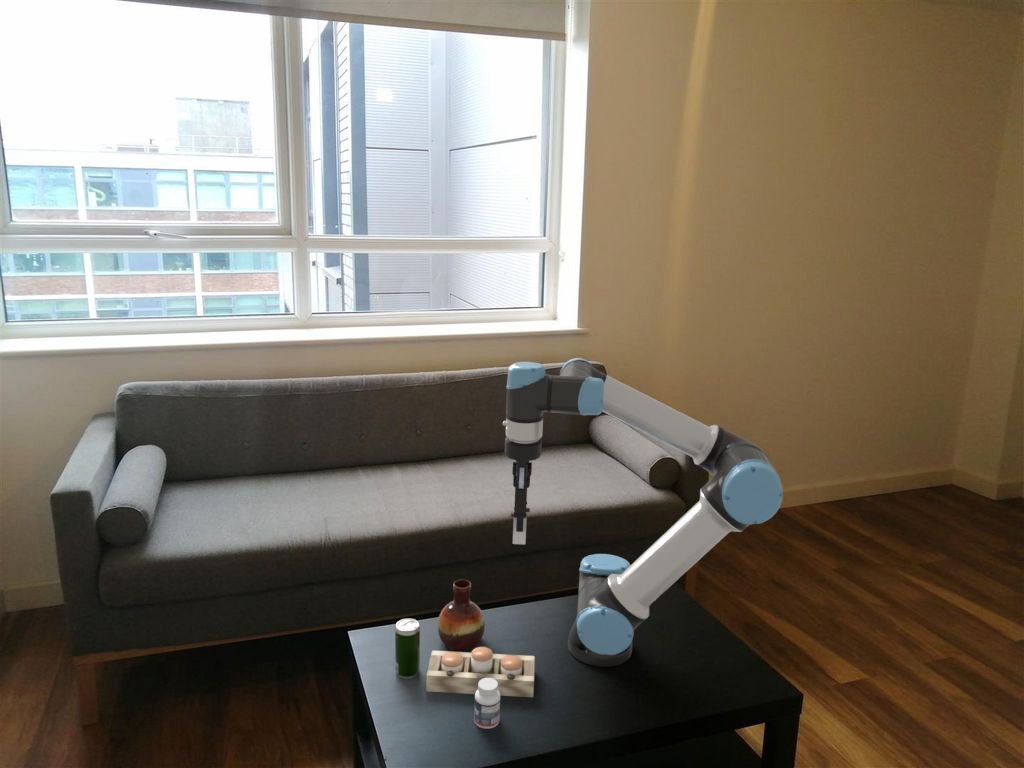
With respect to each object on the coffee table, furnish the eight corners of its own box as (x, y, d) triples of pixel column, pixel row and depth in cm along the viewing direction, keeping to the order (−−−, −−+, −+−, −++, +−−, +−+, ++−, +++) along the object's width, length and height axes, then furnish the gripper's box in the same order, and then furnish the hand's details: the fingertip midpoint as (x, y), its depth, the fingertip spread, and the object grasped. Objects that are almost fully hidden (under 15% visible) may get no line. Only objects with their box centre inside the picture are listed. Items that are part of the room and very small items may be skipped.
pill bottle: (473, 712, 165) (474, 675, 163) (498, 711, 166) (500, 675, 164) (474, 730, 160) (475, 692, 158) (500, 729, 161) (501, 691, 158)
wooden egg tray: (533, 671, 179) (534, 655, 178) (533, 697, 171) (534, 680, 170) (431, 665, 180) (432, 649, 179) (426, 691, 171) (426, 674, 170)
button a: (521, 674, 177) (522, 656, 176) (521, 687, 173) (521, 669, 172) (500, 672, 177) (501, 655, 176) (499, 686, 173) (500, 667, 172)
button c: (463, 670, 178) (463, 653, 176) (461, 683, 173) (461, 665, 172) (442, 669, 178) (442, 652, 177) (440, 682, 173) (440, 664, 172)
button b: (492, 665, 177) (493, 647, 176) (491, 678, 172) (491, 659, 171) (472, 664, 177) (472, 646, 176) (470, 676, 173) (470, 658, 171)
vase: (455, 661, 182) (456, 601, 178) (428, 638, 190) (429, 580, 186) (493, 645, 189) (495, 586, 185) (466, 623, 197) (467, 567, 193)
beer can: (401, 682, 174) (401, 634, 171) (391, 669, 178) (391, 622, 175) (423, 674, 177) (424, 627, 174) (413, 662, 181) (413, 615, 178)
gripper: (506, 426, 170) (502, 528, 176) (503, 447, 157) (499, 556, 163) (541, 428, 169) (537, 529, 176) (541, 449, 157) (536, 558, 163)
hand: (519, 542), depth 169 cm, fingers closed
